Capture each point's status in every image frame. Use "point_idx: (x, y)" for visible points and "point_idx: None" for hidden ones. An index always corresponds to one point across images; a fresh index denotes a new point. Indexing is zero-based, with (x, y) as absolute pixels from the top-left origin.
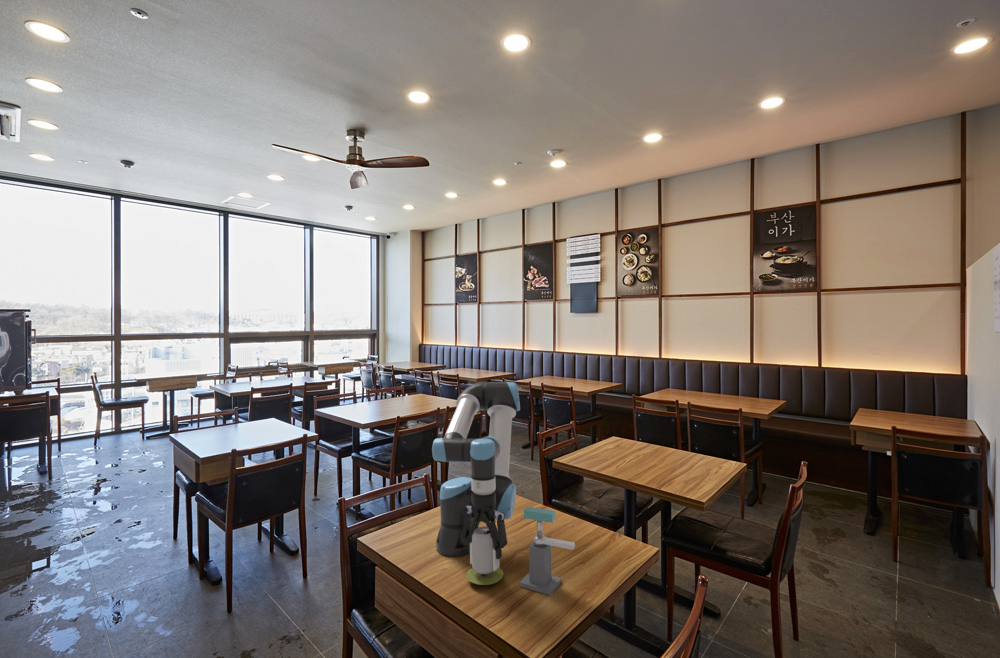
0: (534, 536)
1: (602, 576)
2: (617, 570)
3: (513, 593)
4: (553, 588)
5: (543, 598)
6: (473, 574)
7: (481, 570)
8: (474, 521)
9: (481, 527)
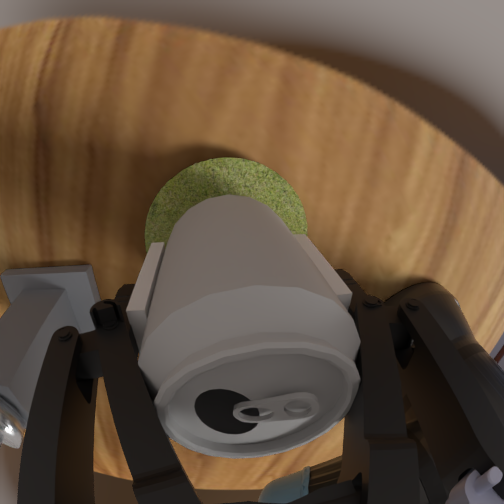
0: (9, 434)
1: None
2: None
3: (82, 217)
4: (7, 293)
5: (9, 247)
6: None
7: (208, 201)
8: (393, 458)
9: (316, 430)
